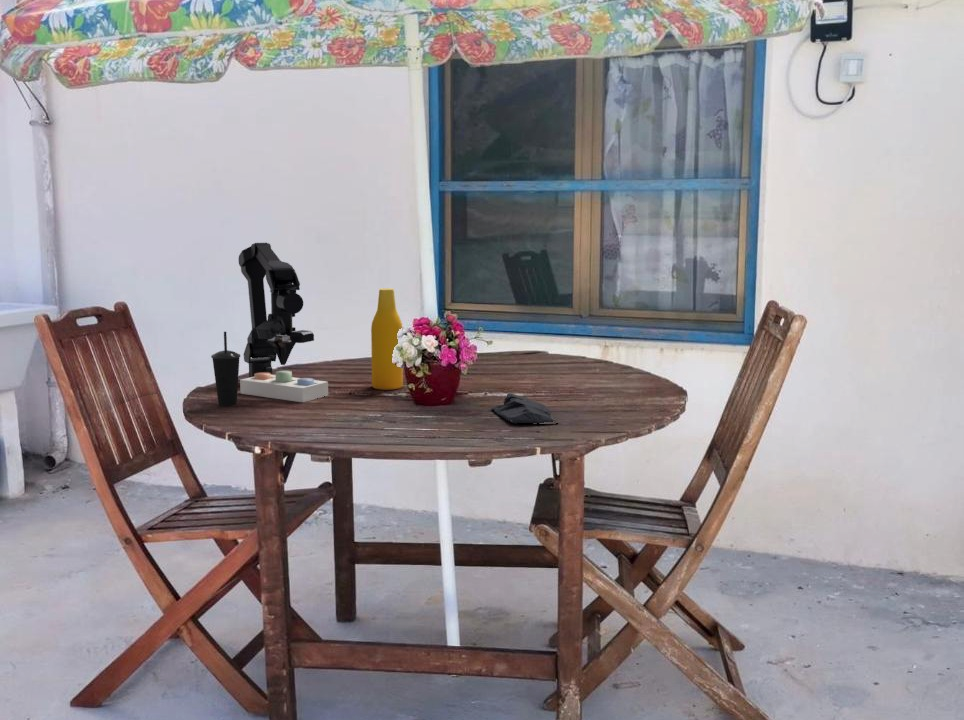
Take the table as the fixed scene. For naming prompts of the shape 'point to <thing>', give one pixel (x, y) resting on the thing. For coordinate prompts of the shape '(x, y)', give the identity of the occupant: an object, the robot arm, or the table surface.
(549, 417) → the dark slate chunk
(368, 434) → the table surface
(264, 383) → the console
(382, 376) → the beer bottle
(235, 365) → the drinking cup
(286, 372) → the button sage
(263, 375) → the button terracotta
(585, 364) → the table surface
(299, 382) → the button slate
